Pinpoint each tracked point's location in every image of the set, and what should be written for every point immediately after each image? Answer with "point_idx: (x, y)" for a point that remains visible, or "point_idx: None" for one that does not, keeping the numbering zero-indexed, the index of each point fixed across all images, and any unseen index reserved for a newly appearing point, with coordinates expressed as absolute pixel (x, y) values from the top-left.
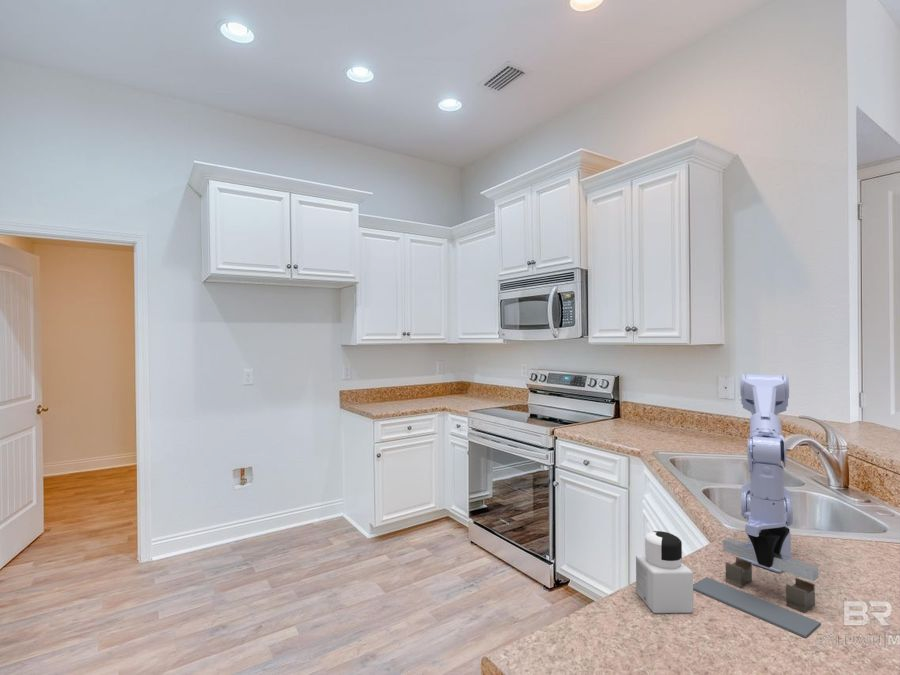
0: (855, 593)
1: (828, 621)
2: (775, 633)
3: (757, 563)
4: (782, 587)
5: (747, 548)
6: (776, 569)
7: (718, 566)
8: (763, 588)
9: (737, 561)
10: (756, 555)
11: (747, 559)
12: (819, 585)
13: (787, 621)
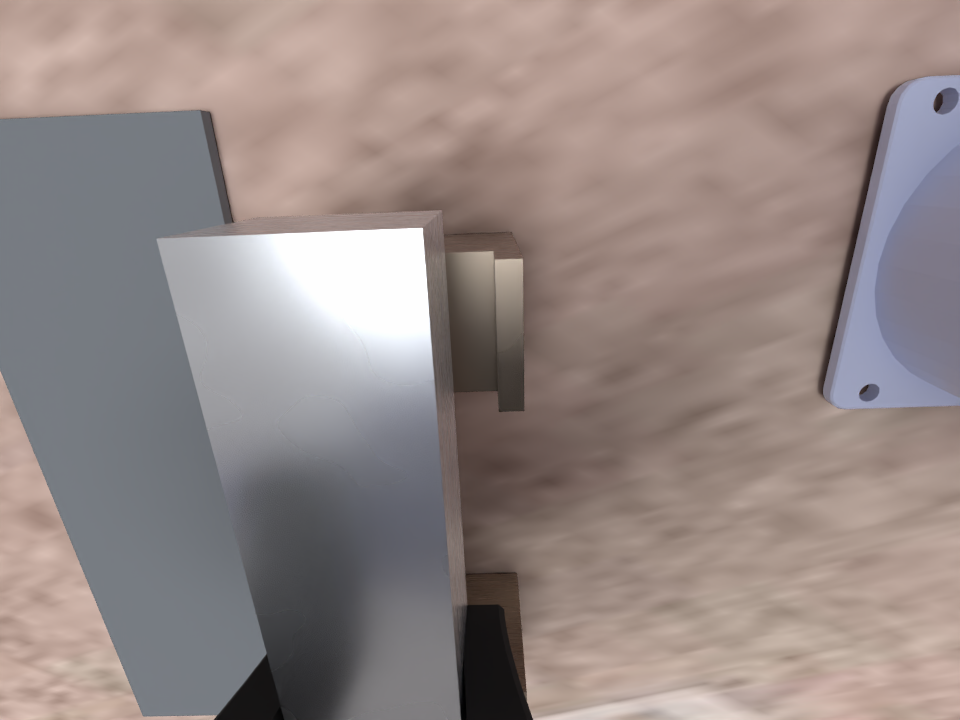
0: (846, 691)
1: None
2: (50, 637)
3: (871, 246)
4: (597, 485)
5: (257, 616)
6: (851, 384)
7: (561, 25)
8: (472, 430)
9: (494, 273)
10: (246, 686)
11: (909, 146)
12: (816, 582)
13: (182, 646)
